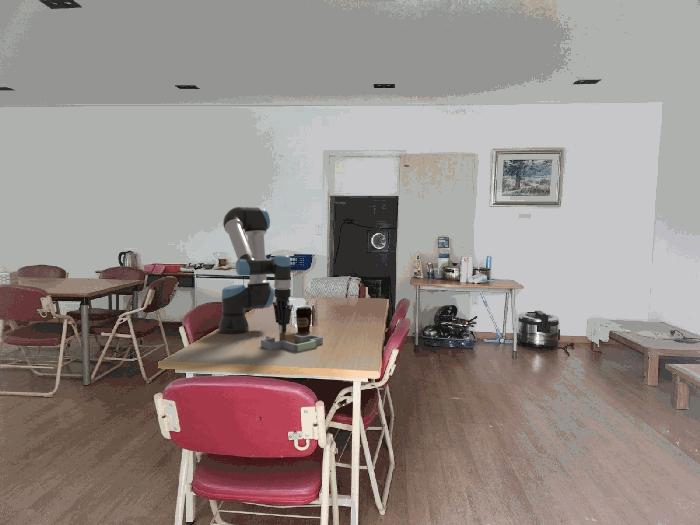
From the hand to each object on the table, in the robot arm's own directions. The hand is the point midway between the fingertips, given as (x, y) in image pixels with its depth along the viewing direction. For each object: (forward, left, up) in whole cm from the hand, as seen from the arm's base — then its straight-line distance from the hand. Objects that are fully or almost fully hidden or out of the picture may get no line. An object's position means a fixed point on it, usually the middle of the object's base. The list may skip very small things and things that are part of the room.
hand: (282, 338), depth 224 cm
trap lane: (+6, 0, -2) cm, 6 cm away
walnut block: (+3, 0, -2) cm, 4 cm away
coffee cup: (-9, +20, -2) cm, 22 cm away
